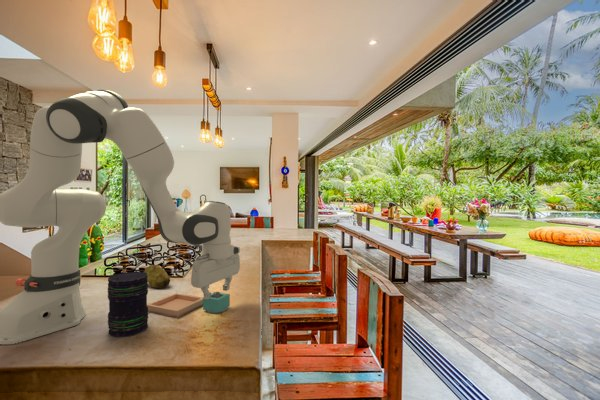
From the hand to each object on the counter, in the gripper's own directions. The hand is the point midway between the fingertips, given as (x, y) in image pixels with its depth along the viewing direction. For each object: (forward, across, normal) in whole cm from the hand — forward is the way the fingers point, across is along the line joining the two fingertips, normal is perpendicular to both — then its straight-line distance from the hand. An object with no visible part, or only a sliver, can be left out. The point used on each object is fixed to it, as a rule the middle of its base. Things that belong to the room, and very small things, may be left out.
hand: (217, 294), depth 102 cm
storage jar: (+6, -22, +14) cm, 26 cm away
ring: (+5, +1, +1) cm, 5 cm away
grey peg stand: (+5, +1, +1) cm, 6 cm away
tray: (+5, -4, +14) cm, 15 cm away
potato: (+5, +11, +39) cm, 41 cm away
